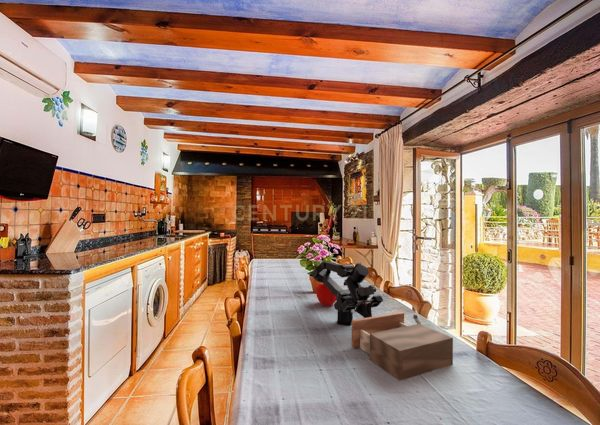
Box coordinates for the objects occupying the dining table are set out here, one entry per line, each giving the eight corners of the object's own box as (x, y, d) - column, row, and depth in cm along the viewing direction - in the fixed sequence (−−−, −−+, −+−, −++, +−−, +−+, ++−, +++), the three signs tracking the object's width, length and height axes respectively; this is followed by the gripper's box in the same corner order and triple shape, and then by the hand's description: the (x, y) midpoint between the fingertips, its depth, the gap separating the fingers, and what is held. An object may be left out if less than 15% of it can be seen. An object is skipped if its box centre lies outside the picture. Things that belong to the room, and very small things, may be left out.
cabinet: (369, 359, 100) (369, 333, 100) (419, 347, 110) (419, 323, 110) (399, 380, 87) (399, 350, 87) (452, 364, 97) (452, 337, 97)
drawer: (351, 346, 108) (351, 320, 109) (401, 336, 119) (401, 311, 119) (376, 364, 96) (376, 334, 96) (429, 350, 106) (429, 323, 106)
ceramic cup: (327, 311, 150) (327, 292, 151) (311, 302, 165) (311, 285, 166) (347, 307, 156) (347, 289, 157) (330, 299, 171) (330, 283, 172)
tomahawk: (435, 336, 123) (435, 333, 123) (418, 332, 125) (419, 330, 125) (425, 318, 144) (426, 316, 144) (411, 316, 145) (412, 313, 145)
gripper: (345, 280, 118) (361, 315, 108) (380, 276, 126) (398, 309, 116) (334, 294, 125) (349, 328, 115) (368, 290, 133) (385, 322, 123)
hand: (371, 322), depth 117 cm, fingers closed
